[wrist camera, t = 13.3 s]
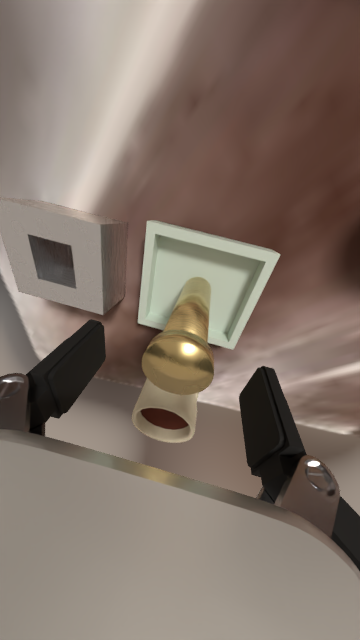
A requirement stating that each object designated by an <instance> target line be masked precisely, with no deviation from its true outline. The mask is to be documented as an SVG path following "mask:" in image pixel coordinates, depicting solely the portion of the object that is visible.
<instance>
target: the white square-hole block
mask: <svg viewBox="0 0 360 640" xmlns="http://www.w3.org/2000/svg"><path fill="white" fill-rule="evenodd" d="M127 230H128V223H126V222H122V221H118V220H115V219H111V218H107V217H103V216H99V215H95V214H91V213H87V212H83V211H79V210H75V209H71V208H67V207H63V206H59V205H56V204H52V203H48V202H44V201H35V200H24V199H14V198H3V197H0V232H1V236H2V239H3V242H4V245H5V248H6V252H7V255H8V258H9V261H10V265H11V268H12V271H13V274H14V277H15V281H16V284H17V287H18V290H19V292H22V293H26V294H29V295H33V296H36V297H40V298H44V299H47V300H51V301H54V302H58V303H61V304H65V305H69V306H72V307H76V308H79V309H83V310H87V311H90V312H94V313H97V314H101V315H104V314H105V313H106V312H107V311H109V310H110V309H111V308H112V307H113V306H114V305H115V304H117V303H118V302H119V301H120V300H121V299H122V298H123V297H125V279H126V254H127ZM71 247H72V250H71ZM72 255H73V259H72ZM73 264H74V266H73Z"/></svg>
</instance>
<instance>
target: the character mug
mask: <svg viewBox="0 0 360 640" xmlns="http://www.w3.org/2000/svg"><path fill="white" fill-rule="evenodd" d="M198 394H199V393H195V394H190V395H178V394H173V393H169V392H166V391H164V390H162V389H160V388H158V387H157V386H155V385H154V384H153V383H151V382H150V381H149V379H148V378H147V379H146V382H145V384H144V386H143V389H142V391H141V394H140V396H139V398H138V400H137V403H136V405H135V408H134V410H133V413H132V418H131V419H132V421H133V424H134V426H135V427H136V428H137V429H138V430H139V431H140V432H141V433H143V434H145V435H147V436H148V437H150V438H153V439H156V440H159V441H162V442H169V443H181V442H185V441H188V440H189V439H191V438H192V437H193V435H194V432H195V425H196V416H197V406H196V402H197V398H198Z"/></svg>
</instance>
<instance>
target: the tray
mask: <svg viewBox="0 0 360 640" xmlns="http://www.w3.org/2000/svg"><path fill="white" fill-rule="evenodd" d="M280 255H281V254H279V253H277V252H275V251H274V250H271V249H267V248H263V247H259V246H255V245H251V244H248V243H244V242H240V241H236V240H232V239H228V238H224V237H220V236H216V235H212V234H208V233H204V232H200V231H196V230H192V229H188V228H184V227H180V226H176V225H172V224H168V223H164V222H160V221H156V220H153V221H147V228H146V238H145V249H144V260H143V271H142V281H141V292H140V303H139V314H138V323H139V324H143V325H146V326H150V327H153V328H157V329H161V330H164V329H165V327H166V324H167V322H168V320H169V318H170V316H171V314H172V311H173V309H174V307H175V305H176V303H177V301H178V298H179V296H180V294H181V292H182V290H183V288H184V285H185V283H186V282H187V281H188V280H189V279H191V278H193V277H201V278H204V279H206V280H207V281H208V282H209V284H210V286H211V300H210V314H209V328H208V343H211V344H215V345H218V346H222V347H225V348H229V349H234V347H235V345H236V343H237V341H238V339H239V337H240V335H241V333H242V331H243V329H244V327H245V325H246V323H247V321H248V319H249V317H250V315H251V313H252V311H253V309H254V307H255V305H256V303H257V301H258V299H259V297H260V295H261V293H262V291H263V289H264V287H265V285H266V283H267V281H268V279H269V277H270V275H271V273H272V271H273V269H274V267H275V265H276V263H277V261H278V259H279V257H280Z"/></svg>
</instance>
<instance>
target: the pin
mask: <svg viewBox="0 0 360 640" xmlns="http://www.w3.org/2000/svg"><path fill="white" fill-rule="evenodd" d="M210 300H211V286H210V284H209V282H208V281H207V280H206V279H204V278H201V277H193V278H191V279H189V280H188V281H187V282H186V283H185V285H184V288H183V290H182V292H181V294H180V296H179V298H178V301H177V303H176V305H175V307H174V309H173V311H172V314H171V316H170V318H169V320H168V322H167V324H166V327H165V329H164V331H163V332H161V333H159V334H158V335H156V336H155V337H154V338H153V339H152V340H151V342H150V343H149V345H148V347H147V349H146V351H145V353H144V355H143V357H142V369H143V372H144V374H145V375H146V377H147V378H148V379H149V381H150V382H151V383H153V384H154V385H155V386H157V387H158V388H160V389H162V390H164V391H166V392H169V393H173V394H178V395H190V394H195V393H199V392H201V391H203V390H204V389H206V388H207V387H208V386H209V385H210V384H211V382H212V380H213V376H214V356H213V352H212V350H211V348H210V346H209V345H208V344H207V343H208V328H209V314H210Z"/></svg>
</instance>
